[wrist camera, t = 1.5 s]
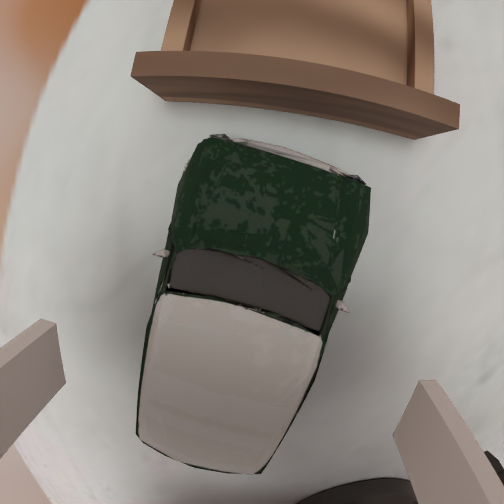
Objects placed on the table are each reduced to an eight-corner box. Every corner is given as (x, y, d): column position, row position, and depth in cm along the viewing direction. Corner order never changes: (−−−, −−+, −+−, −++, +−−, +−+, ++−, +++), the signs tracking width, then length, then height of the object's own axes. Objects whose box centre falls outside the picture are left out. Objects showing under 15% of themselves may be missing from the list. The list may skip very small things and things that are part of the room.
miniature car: (364, 178, 17) (430, 178, 9) (269, 427, 21) (265, 514, 13) (210, 131, 17) (164, 95, 9) (150, 392, 21) (107, 470, 13)
